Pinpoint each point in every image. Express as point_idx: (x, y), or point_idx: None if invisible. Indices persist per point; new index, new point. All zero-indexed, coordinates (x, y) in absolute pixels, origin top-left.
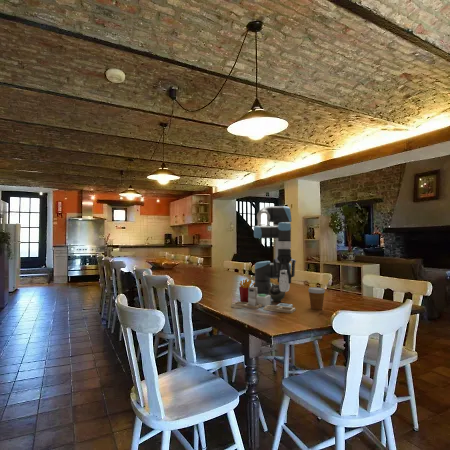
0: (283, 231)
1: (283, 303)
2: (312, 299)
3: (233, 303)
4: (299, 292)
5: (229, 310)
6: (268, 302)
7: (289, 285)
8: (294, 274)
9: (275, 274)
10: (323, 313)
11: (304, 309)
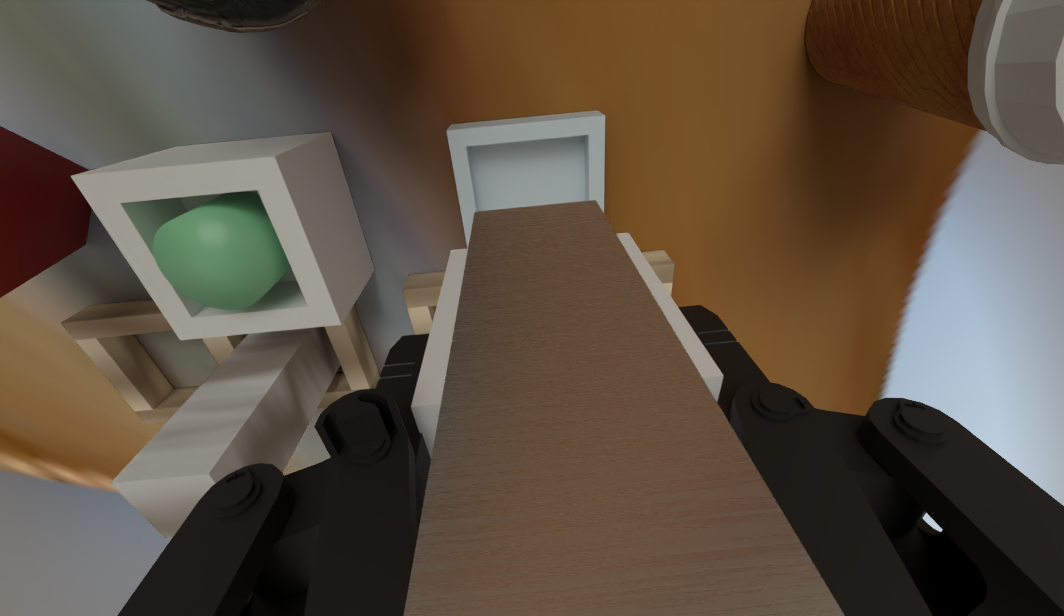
0: None
1: (490, 131)
2: (917, 108)
3: (140, 408)
4: None
5: None
6: (337, 212)
7: (644, 267)
8: (999, 461)
9: (305, 592)
10: (913, 176)
11: (731, 110)
